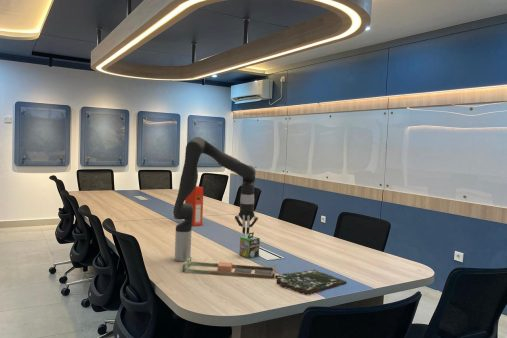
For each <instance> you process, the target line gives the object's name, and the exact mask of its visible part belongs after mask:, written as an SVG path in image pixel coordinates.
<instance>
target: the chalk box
mask: <svg viewBox="0 0 507 338" xmlns="http://www.w3.org/2000/svg"><path fill="white" fill-rule="evenodd" d="M254 234H255V232H249V234H248V235H245V236H241V237H240V238H239V256H241V257H244V258H247V259H250V258H256V257H259V256H260V243H261V237H257V236H254Z"/></svg>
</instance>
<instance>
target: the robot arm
mask: <svg viewBox="0 0 507 338" xmlns="http://www.w3.org/2000/svg"><path fill="white" fill-rule="evenodd" d="M202 154H204V155H207V156H209V157H210V158H212V159H213V160H215V161H216V163H217V164H219V165H220V166H221V167H223V168H224V169H227V170H229V171H231V172H233V173H235V174H236V175H238V176H240V177H242V183H241V187H240V188H241V189H240V191H241V192H240V200H239V202H240V203H239V211H238V214H237V215H235V216H234V219H235V221H236V222H237V224H238V226H239V227H241V228H242V234H243V235H245V236H248V234H249V233H250V228H253V226H255V224H256V222H257V221H258V220H259V217H258V216H256V215H255V181H256V172H257V171H256V168H255V167H254V166H252V165H250V164H249V165H248V164H246V163H243V162H242V161H241V160H239V159H237V158H235V157H234V156H232V155H229V154H228V153H225V152H224V151H222V150H220V149H218V147H216V146H214V145H212V144H211V143H210V142H208V141H207V140H205V139H204V138H202V137H200V136H196V137H193V138H192V139H190V141H188V142H187V144H186V146H185V154H184V162H183V163H184V164H183V168H182V173H181V176H180V181H179V187H178V192H177V196H176V198H175V202H174V207H173V214H172V215H173V218H174V219H175V220H183V221H182V222H181V223H179V224H177V225H175V234H174V235H175V238H174V239H175V242H174V260H175V261H177V262H186V260H187V259H188V258H189V257H191V254H192V253H191V250H192V249H191V248H192V229H193V226H192V220H193V206H192V204H190V203H185V199H186V198H187V197H188V196H189V195H190V194H191V193H192V192H193V191H194V189H195V188H196V186H197V183H198V178H199V172H198V164H199V160H200V157H201V155H202ZM240 219H241V220H240ZM252 219H253V221H252ZM241 221H242V222H241ZM251 221H252V222H251ZM250 222H251V223H250Z"/></svg>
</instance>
